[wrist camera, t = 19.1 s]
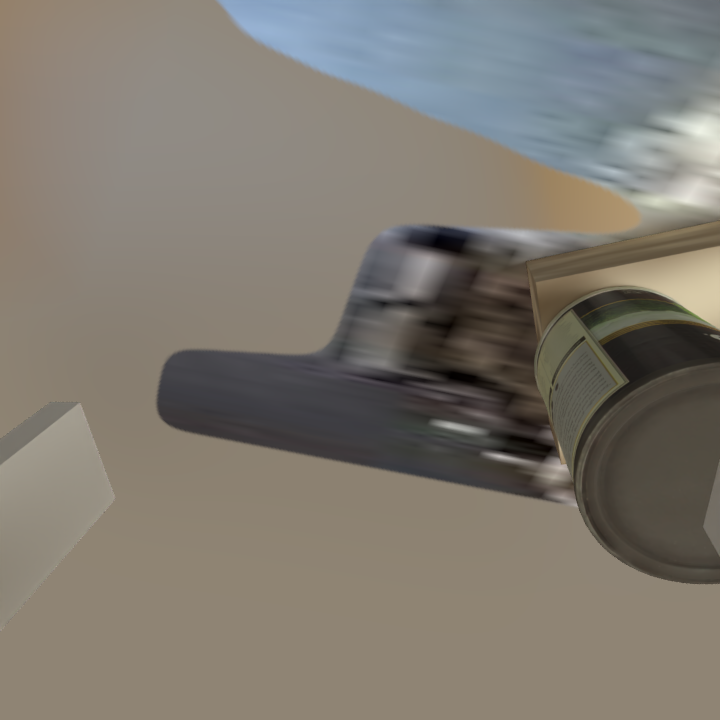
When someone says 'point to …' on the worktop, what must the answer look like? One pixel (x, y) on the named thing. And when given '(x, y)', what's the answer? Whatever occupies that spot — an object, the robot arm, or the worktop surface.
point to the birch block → (632, 275)
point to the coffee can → (638, 425)
